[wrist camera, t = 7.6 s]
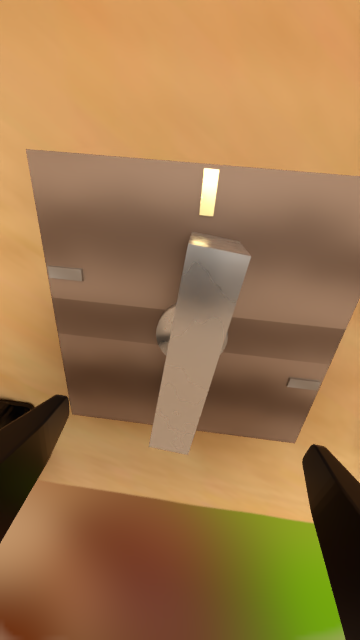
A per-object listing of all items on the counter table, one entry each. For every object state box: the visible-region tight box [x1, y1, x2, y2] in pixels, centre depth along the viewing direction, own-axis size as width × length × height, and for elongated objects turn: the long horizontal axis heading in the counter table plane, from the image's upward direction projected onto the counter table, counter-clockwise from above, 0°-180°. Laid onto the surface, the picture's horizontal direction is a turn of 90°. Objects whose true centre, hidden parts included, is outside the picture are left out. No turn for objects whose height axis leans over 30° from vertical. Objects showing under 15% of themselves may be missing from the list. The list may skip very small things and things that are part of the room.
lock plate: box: [26, 149, 360, 443], centre depth 17 cm, size 18×18×3 cm
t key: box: [149, 232, 251, 455], centre depth 15 cm, size 12×4×6 cm, turn 170°
